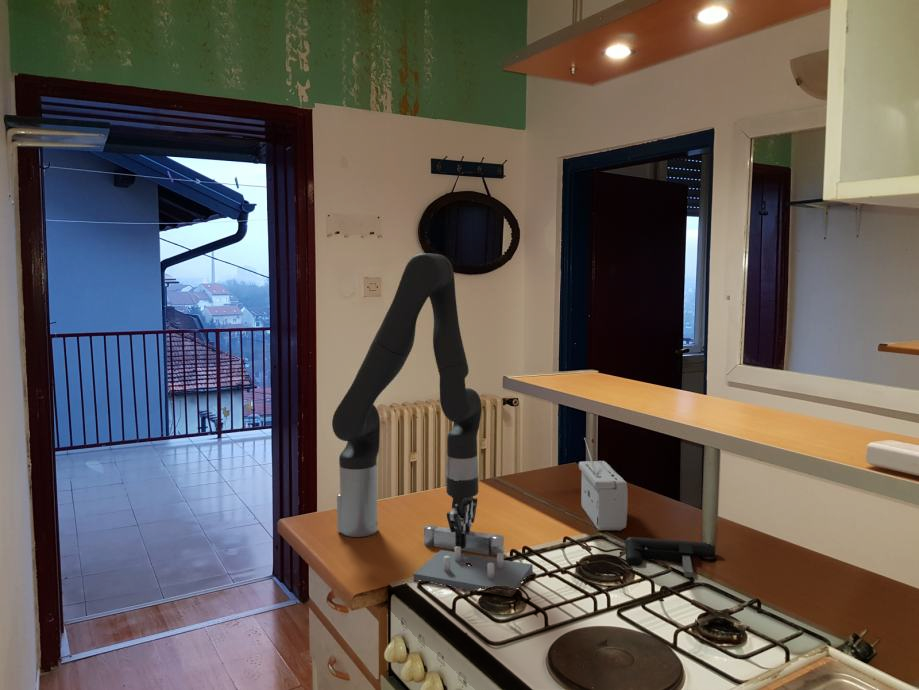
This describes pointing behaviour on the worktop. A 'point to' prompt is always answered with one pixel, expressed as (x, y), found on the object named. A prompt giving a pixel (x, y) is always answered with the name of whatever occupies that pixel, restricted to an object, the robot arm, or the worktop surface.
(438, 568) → the board
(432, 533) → the grey end-post crossbar
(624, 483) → the stereo radio cassette player
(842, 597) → the worktop surface
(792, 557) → the worktop surface
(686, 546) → the toy gun
